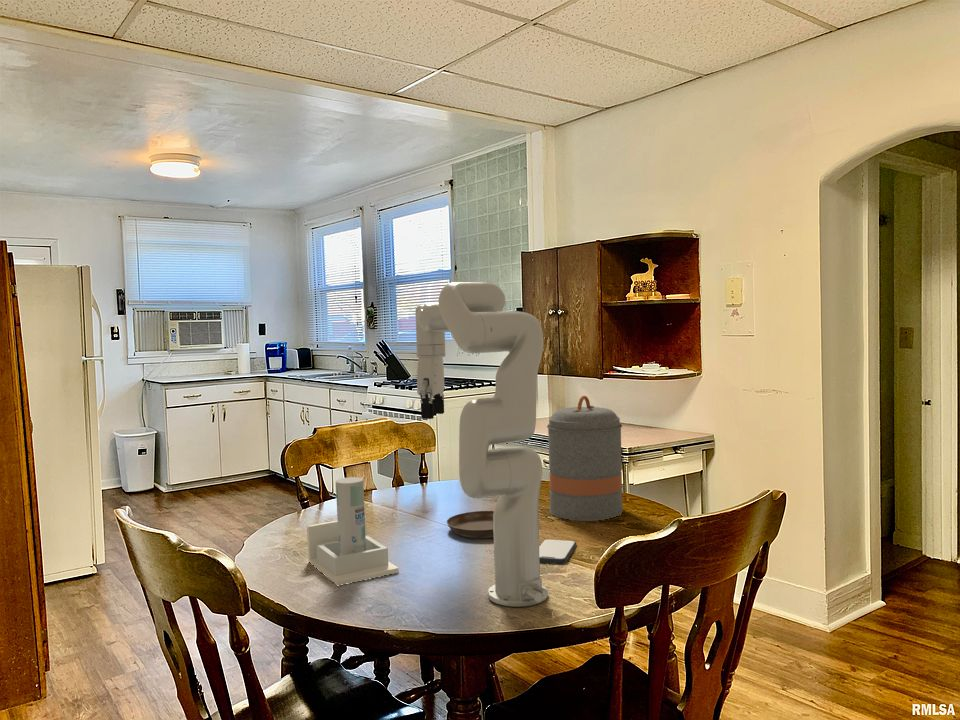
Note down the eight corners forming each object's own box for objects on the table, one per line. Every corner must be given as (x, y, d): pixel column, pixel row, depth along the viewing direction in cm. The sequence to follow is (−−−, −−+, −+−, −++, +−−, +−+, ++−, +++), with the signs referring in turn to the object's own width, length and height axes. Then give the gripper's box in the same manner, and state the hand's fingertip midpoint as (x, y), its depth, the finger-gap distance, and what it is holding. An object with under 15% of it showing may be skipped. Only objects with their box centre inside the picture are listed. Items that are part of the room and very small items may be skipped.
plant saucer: (437, 526, 209) (437, 514, 209) (504, 517, 216) (503, 506, 216) (460, 546, 190) (460, 533, 190) (533, 535, 197) (532, 523, 197)
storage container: (607, 525, 204) (604, 401, 202) (536, 515, 216) (533, 398, 214) (634, 506, 223) (632, 393, 221) (567, 499, 235) (565, 391, 233)
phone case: (544, 544, 190) (529, 563, 175) (543, 538, 190) (529, 556, 175) (577, 547, 188) (565, 566, 173) (577, 540, 188) (565, 559, 173)
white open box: (398, 572, 170) (397, 534, 169) (337, 586, 162) (335, 546, 162) (365, 551, 187) (364, 515, 187) (308, 562, 179) (306, 525, 179)
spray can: (358, 568, 170) (355, 483, 169) (334, 566, 172) (330, 482, 171) (371, 559, 177) (368, 477, 175) (347, 557, 179) (344, 476, 177)
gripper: (427, 350, 201) (429, 411, 202) (406, 353, 184) (409, 420, 185) (453, 349, 199) (455, 412, 200) (435, 352, 182) (437, 420, 183)
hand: (433, 416), depth 193 cm, fingers open, 9 cm apart
